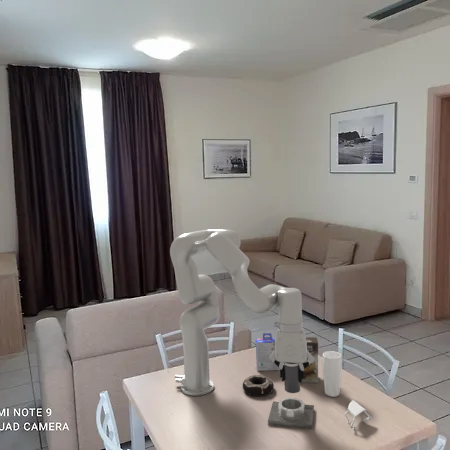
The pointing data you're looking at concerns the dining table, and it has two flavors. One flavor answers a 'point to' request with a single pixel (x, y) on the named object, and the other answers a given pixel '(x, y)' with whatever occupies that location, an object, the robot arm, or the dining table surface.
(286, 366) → the lens
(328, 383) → the drinking glass
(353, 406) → the origami figure
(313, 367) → the coffee box
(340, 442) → the dining table surface
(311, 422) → the mount
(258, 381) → the donut
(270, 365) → the ink cartridge box
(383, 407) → the dining table surface
